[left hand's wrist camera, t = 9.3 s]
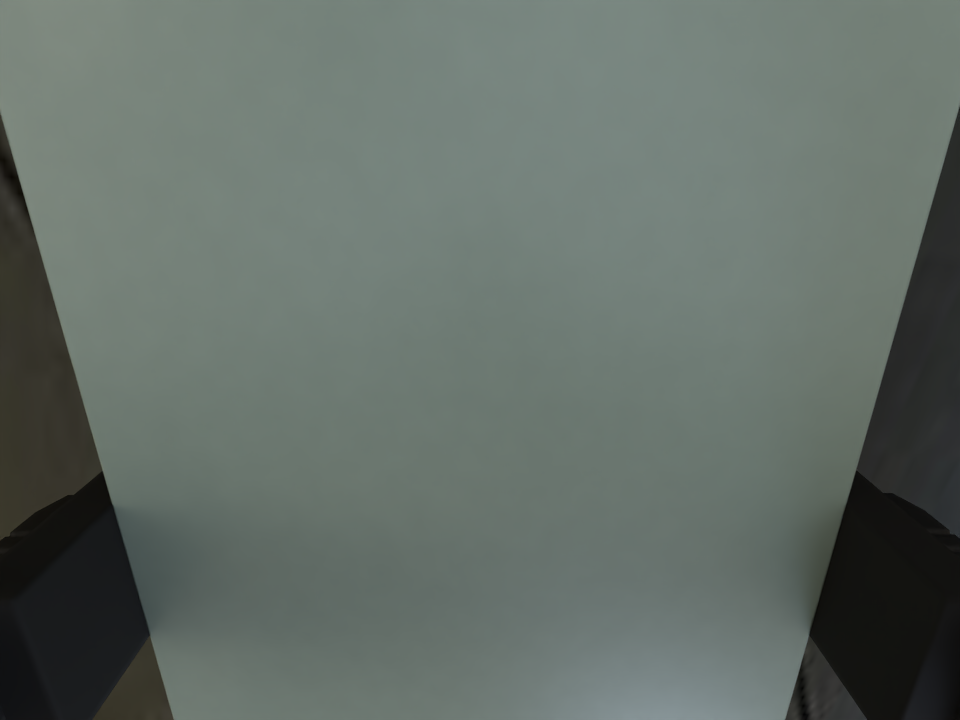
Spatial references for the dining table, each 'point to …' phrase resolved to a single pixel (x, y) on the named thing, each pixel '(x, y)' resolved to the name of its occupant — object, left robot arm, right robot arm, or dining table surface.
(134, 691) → the dining table surface
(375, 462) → the cabinet
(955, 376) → the dining table surface
